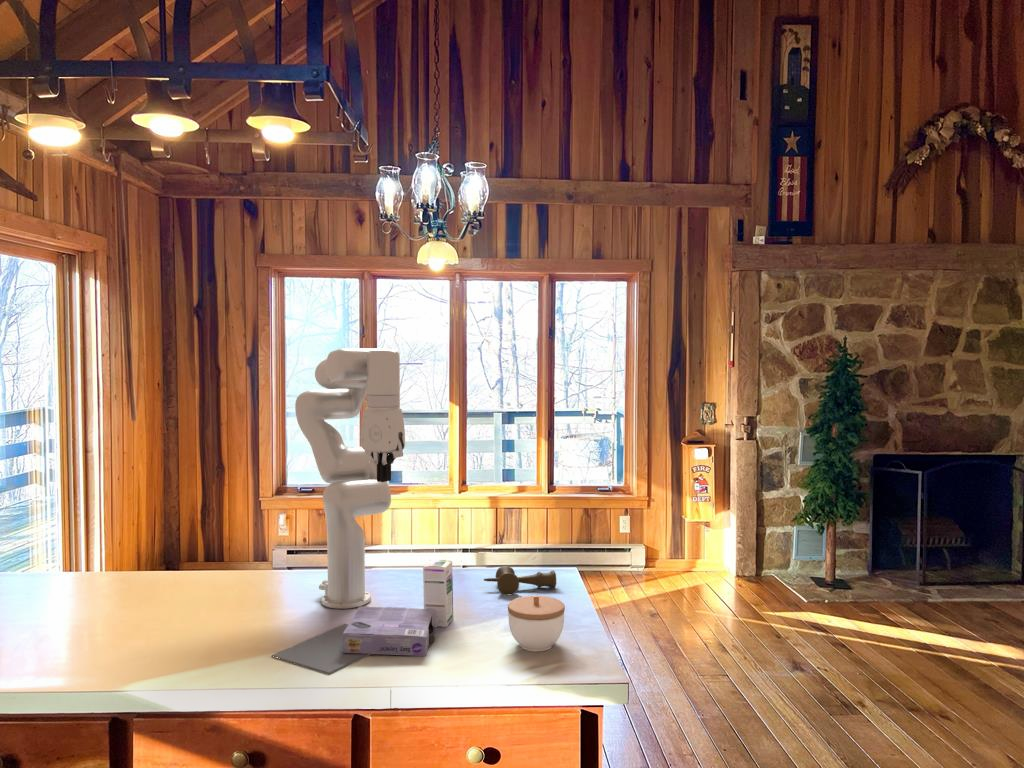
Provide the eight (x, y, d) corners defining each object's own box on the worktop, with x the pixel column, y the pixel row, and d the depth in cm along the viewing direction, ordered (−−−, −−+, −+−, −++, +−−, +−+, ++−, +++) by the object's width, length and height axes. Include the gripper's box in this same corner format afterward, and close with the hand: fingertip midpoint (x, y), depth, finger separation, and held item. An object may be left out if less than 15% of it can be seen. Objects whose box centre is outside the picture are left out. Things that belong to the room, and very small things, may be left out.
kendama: (558, 595, 203) (484, 595, 201) (552, 585, 212) (482, 585, 210) (558, 573, 203) (485, 573, 201) (553, 564, 212) (482, 564, 210)
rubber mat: (271, 656, 160) (271, 655, 160) (345, 625, 179) (344, 623, 179) (329, 674, 151) (329, 672, 151) (400, 639, 170) (400, 637, 170)
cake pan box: (431, 658, 160) (437, 625, 178) (431, 636, 160) (438, 605, 178) (340, 656, 160) (356, 623, 178) (341, 633, 160) (356, 603, 177)
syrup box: (447, 627, 177) (446, 566, 177) (423, 626, 178) (422, 565, 178) (453, 619, 183) (453, 560, 182) (430, 617, 184) (430, 559, 183)
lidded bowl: (548, 661, 158) (549, 609, 157) (497, 649, 164) (497, 599, 164) (574, 641, 169) (574, 592, 168) (524, 631, 175) (524, 584, 175)
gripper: (348, 402, 175) (348, 480, 176) (397, 404, 167) (398, 486, 168) (370, 400, 181) (370, 476, 182) (419, 402, 173) (419, 481, 174)
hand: (384, 480), depth 175 cm, fingers closed
